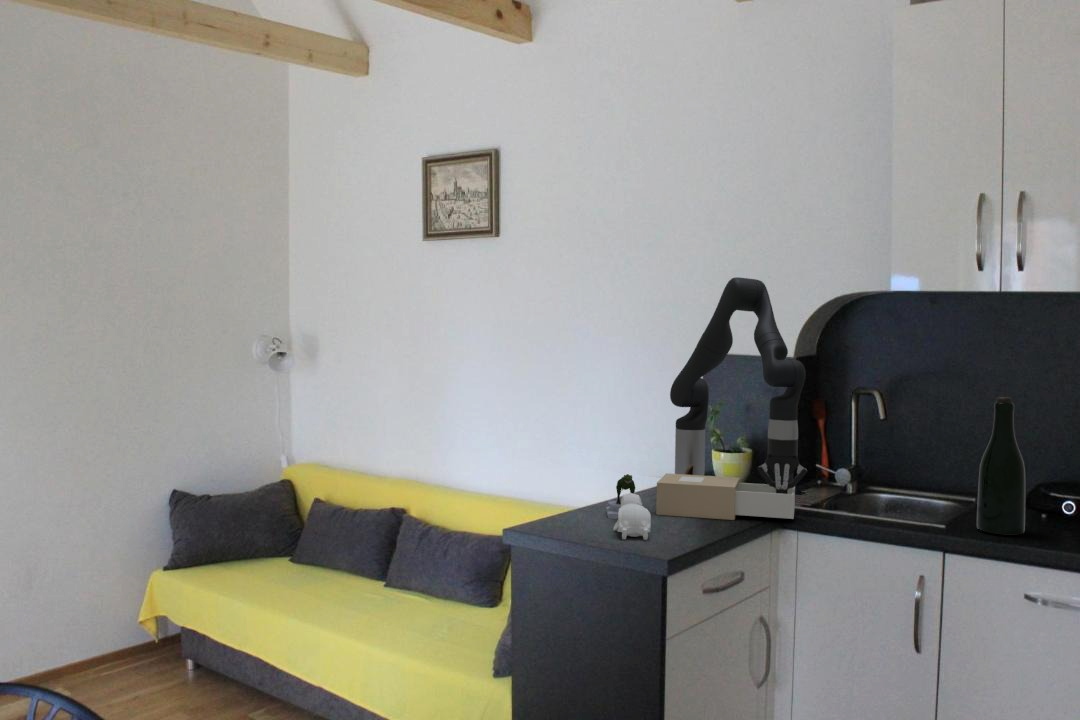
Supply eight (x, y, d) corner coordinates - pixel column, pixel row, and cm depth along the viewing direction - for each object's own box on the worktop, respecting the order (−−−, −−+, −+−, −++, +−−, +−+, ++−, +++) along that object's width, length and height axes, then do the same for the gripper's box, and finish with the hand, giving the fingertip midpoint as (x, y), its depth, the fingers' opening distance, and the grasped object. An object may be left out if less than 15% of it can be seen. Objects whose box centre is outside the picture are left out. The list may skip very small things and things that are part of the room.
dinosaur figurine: (609, 522, 229) (610, 475, 229) (604, 506, 249) (605, 463, 249) (646, 522, 229) (647, 476, 229) (638, 507, 249) (639, 464, 249)
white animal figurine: (652, 551, 212) (646, 515, 225) (654, 520, 208) (648, 486, 222) (615, 551, 212) (611, 515, 226) (617, 520, 208) (613, 485, 222)
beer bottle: (987, 525, 230) (991, 394, 229) (1031, 533, 223) (1036, 397, 221) (968, 531, 224) (972, 396, 223) (1013, 539, 216) (1017, 399, 215)
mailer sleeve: (665, 503, 254) (666, 473, 254) (739, 508, 249) (739, 477, 248) (656, 514, 239) (656, 482, 239) (734, 520, 233) (735, 486, 233)
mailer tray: (721, 504, 249) (721, 481, 249) (794, 508, 243) (795, 486, 243) (716, 513, 236) (716, 490, 235) (793, 518, 230) (794, 494, 230)
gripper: (809, 436, 239) (808, 502, 239) (757, 434, 242) (756, 499, 243) (809, 439, 231) (807, 507, 232) (755, 437, 235) (754, 504, 236)
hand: (781, 503), depth 237 cm, fingers closed
